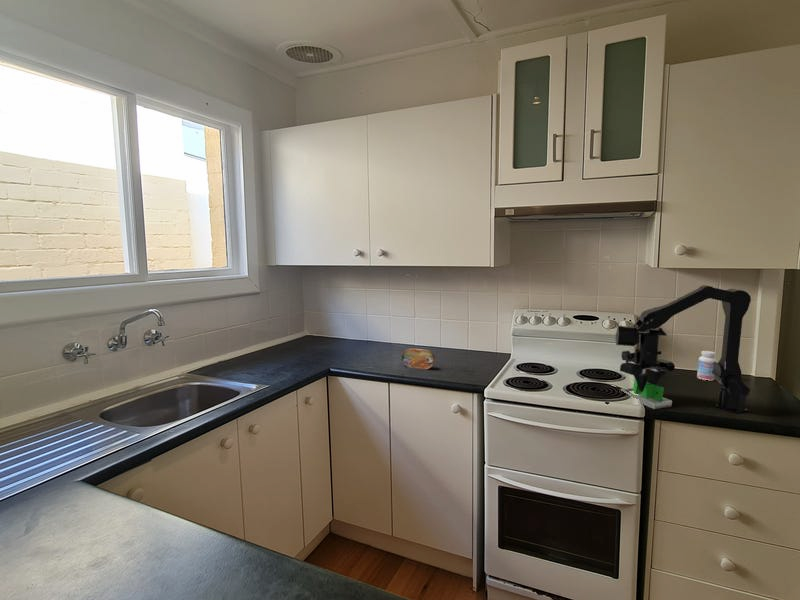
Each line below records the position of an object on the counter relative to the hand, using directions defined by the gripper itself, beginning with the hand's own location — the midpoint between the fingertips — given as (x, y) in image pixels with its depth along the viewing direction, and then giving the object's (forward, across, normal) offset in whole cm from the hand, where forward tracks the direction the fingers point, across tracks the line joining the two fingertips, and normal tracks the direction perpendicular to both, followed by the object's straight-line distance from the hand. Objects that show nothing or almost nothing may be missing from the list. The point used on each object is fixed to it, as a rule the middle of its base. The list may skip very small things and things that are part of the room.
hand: (645, 390), depth 153 cm
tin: (+3, +61, -62) cm, 87 cm away
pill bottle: (+4, -45, -12) cm, 47 cm away
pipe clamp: (+2, 0, 0) cm, 2 cm away
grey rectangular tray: (+3, 0, 0) cm, 3 cm away
